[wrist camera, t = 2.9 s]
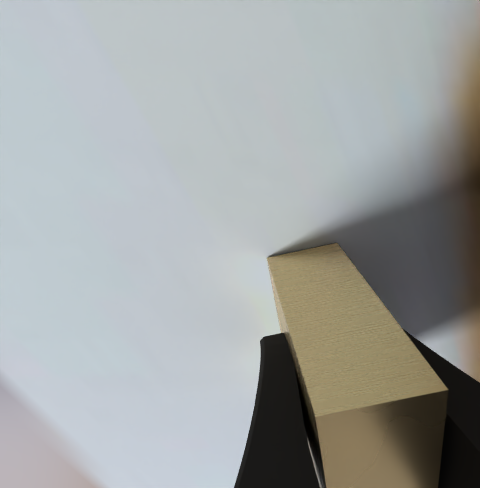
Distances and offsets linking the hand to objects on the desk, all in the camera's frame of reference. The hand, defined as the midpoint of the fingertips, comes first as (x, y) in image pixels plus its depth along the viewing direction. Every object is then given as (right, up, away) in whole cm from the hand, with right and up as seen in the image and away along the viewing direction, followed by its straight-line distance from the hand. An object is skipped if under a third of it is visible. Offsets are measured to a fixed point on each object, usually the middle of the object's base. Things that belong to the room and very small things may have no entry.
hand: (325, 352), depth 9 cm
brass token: (0, +1, +1) cm, 1 cm away
